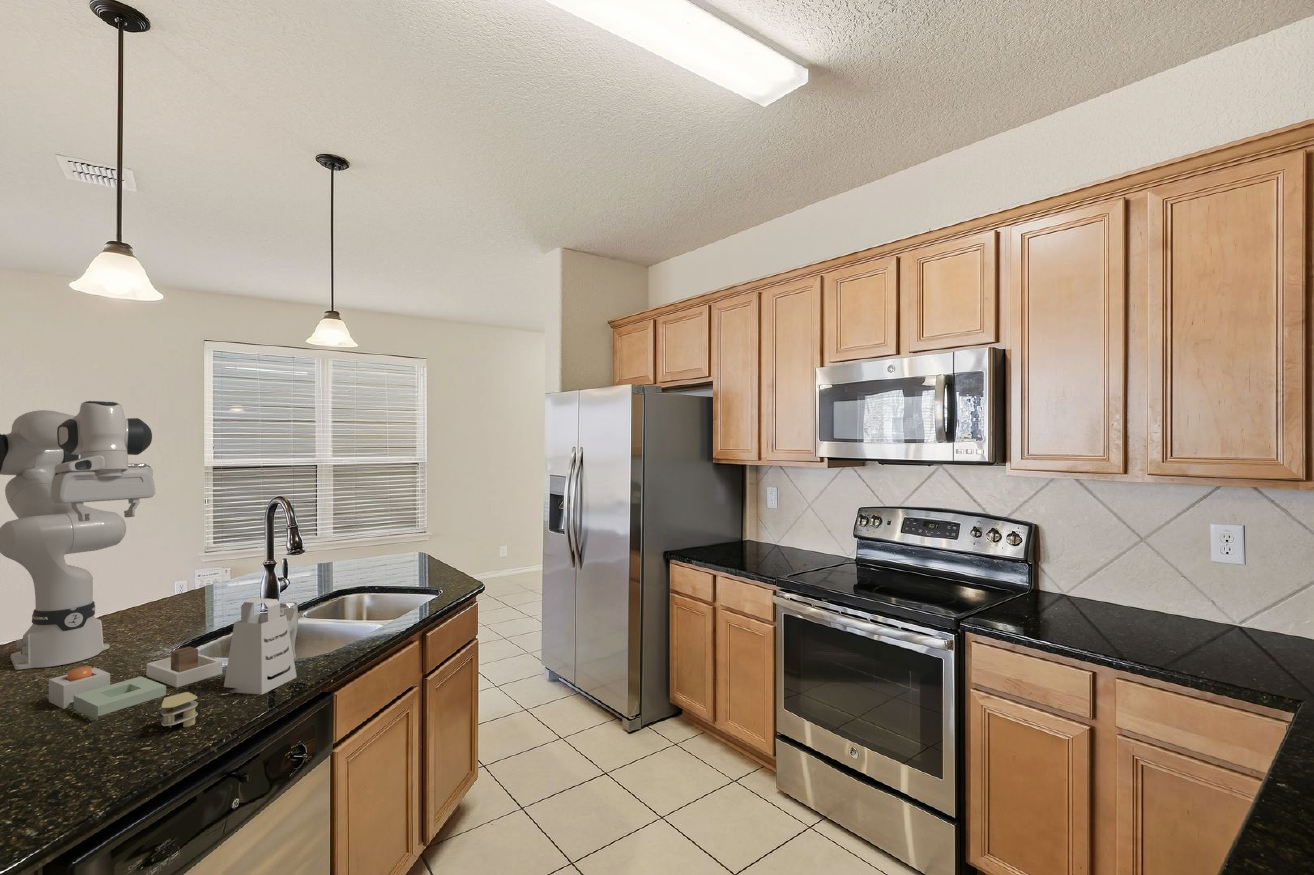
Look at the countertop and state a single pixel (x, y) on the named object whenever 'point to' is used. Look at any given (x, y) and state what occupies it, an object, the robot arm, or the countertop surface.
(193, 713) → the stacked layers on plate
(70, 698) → the button housing
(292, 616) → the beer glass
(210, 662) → the tote
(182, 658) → the walnut block
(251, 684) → the grater
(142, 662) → the countertop surface
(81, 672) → the button
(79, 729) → the countertop surface
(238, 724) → the countertop surface
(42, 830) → the countertop surface
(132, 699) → the pallet plate
